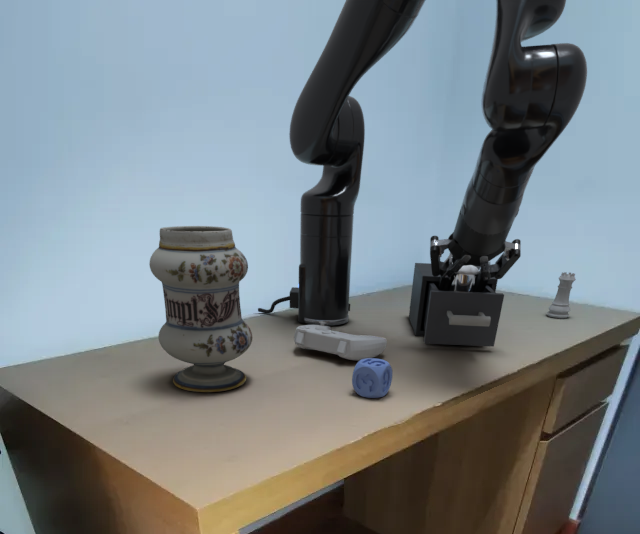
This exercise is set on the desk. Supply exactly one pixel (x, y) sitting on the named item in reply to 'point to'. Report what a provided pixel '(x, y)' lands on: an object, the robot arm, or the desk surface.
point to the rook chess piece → (562, 297)
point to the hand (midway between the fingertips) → (460, 288)
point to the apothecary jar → (202, 305)
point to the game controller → (338, 342)
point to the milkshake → (464, 279)
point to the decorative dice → (372, 377)
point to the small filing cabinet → (418, 294)
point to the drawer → (461, 316)
